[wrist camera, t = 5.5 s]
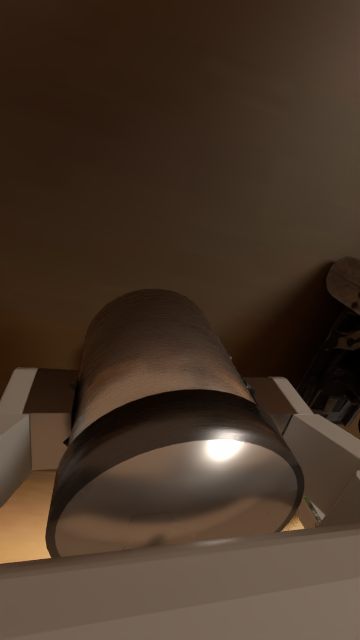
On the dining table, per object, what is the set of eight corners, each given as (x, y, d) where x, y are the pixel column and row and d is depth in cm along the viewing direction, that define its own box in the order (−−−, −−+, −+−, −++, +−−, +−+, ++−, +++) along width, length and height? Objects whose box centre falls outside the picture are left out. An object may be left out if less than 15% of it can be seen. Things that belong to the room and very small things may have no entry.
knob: (83, 276, 9) (43, 435, 4) (231, 292, 10) (346, 431, 5) (76, 398, 11) (46, 603, 6) (200, 399, 13) (259, 571, 7)
